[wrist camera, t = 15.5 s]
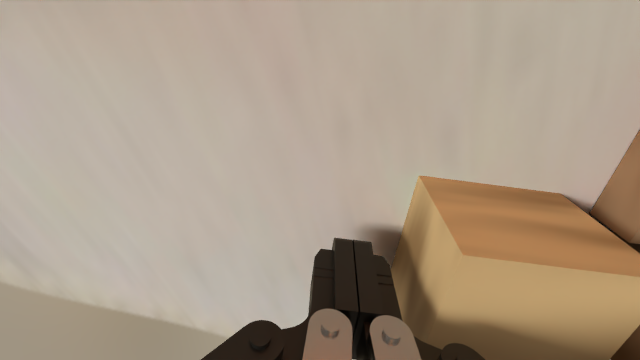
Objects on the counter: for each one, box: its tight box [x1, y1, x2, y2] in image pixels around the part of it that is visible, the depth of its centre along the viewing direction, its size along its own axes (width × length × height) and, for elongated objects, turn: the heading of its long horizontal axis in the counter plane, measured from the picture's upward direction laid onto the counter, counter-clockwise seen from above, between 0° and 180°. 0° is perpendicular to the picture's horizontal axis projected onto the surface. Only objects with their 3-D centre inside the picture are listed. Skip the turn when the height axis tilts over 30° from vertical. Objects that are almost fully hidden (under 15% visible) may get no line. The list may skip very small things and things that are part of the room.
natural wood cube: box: [391, 176, 640, 360], centre depth 13 cm, size 8×6×5 cm
